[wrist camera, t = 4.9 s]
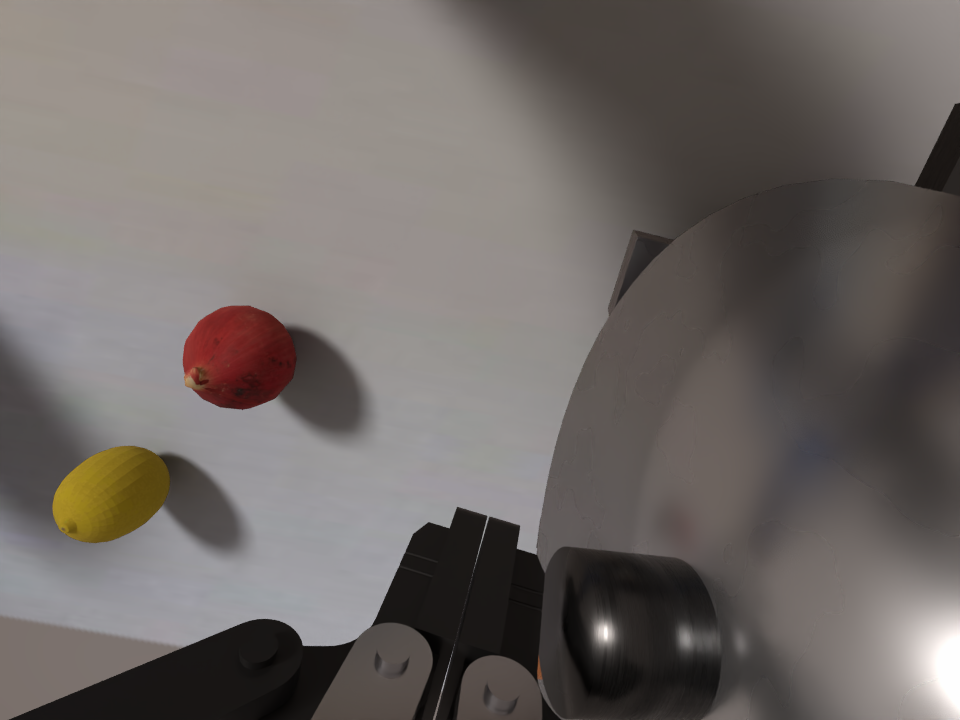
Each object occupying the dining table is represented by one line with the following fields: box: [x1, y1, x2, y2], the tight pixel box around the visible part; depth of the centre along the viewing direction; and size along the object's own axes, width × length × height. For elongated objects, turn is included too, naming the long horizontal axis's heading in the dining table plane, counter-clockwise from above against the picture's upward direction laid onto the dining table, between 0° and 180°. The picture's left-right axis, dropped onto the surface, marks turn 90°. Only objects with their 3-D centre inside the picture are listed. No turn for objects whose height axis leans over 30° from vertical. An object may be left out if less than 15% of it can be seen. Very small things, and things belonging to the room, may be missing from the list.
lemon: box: [52, 446, 170, 543], centre depth 36 cm, size 6×6×8 cm
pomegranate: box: [183, 306, 297, 410], centre depth 31 cm, size 6×6×8 cm
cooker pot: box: [536, 103, 960, 548], centre depth 25 cm, size 25×18×12 cm
